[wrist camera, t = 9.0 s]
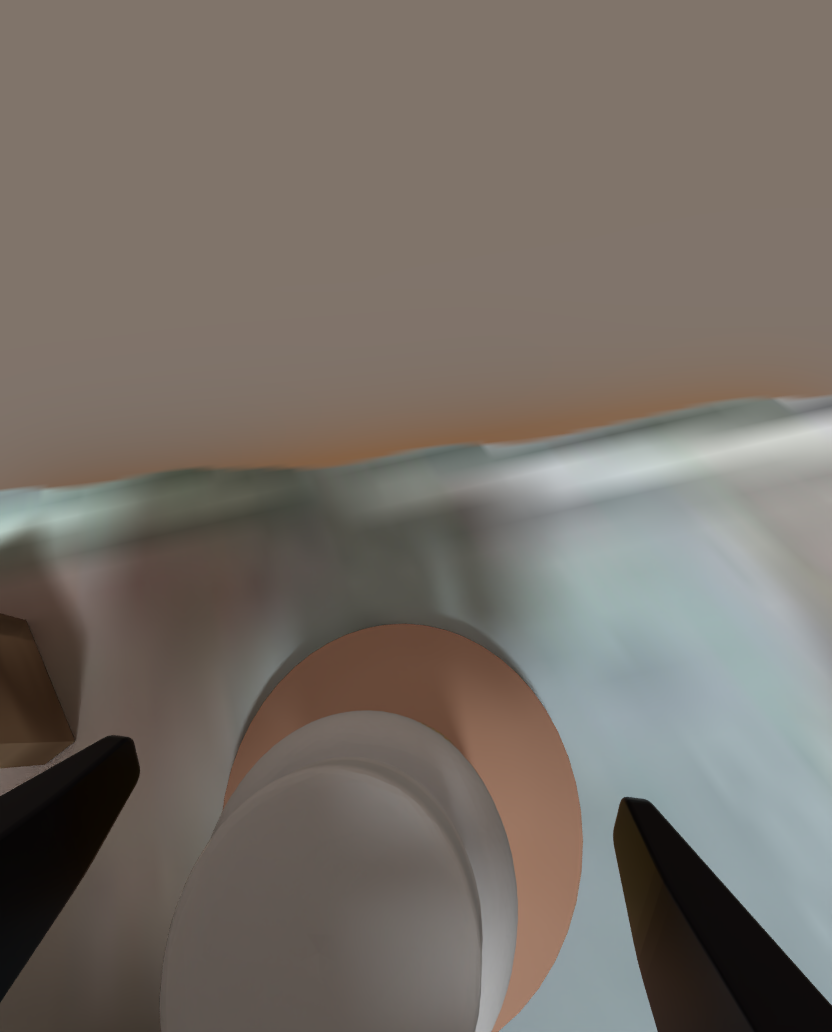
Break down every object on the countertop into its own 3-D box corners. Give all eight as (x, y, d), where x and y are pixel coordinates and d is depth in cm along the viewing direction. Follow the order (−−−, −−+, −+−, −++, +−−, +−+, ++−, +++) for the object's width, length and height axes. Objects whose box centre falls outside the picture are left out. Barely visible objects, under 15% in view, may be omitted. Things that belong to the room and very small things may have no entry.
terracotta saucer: (654, 893, 14) (666, 902, 13) (306, 1158, 12) (297, 1185, 11) (458, 577, 19) (459, 571, 18) (192, 723, 17) (180, 723, 16)
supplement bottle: (387, 971, 13) (234, 1624, 3) (283, 801, 15) (12, 923, 5) (518, 820, 14) (658, 992, 5) (406, 684, 16) (356, 624, 7)
